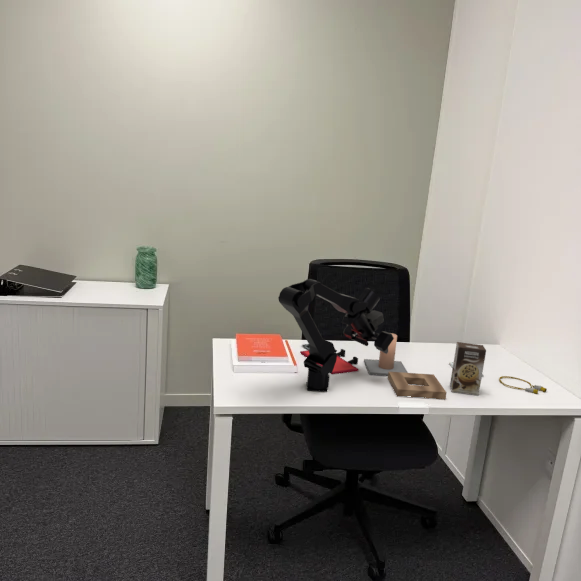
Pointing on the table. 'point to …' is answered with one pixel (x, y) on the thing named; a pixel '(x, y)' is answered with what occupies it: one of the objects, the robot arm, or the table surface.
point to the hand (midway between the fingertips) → (377, 348)
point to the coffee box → (467, 368)
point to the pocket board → (429, 381)
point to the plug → (388, 355)
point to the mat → (376, 370)
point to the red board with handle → (338, 362)
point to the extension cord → (526, 388)
